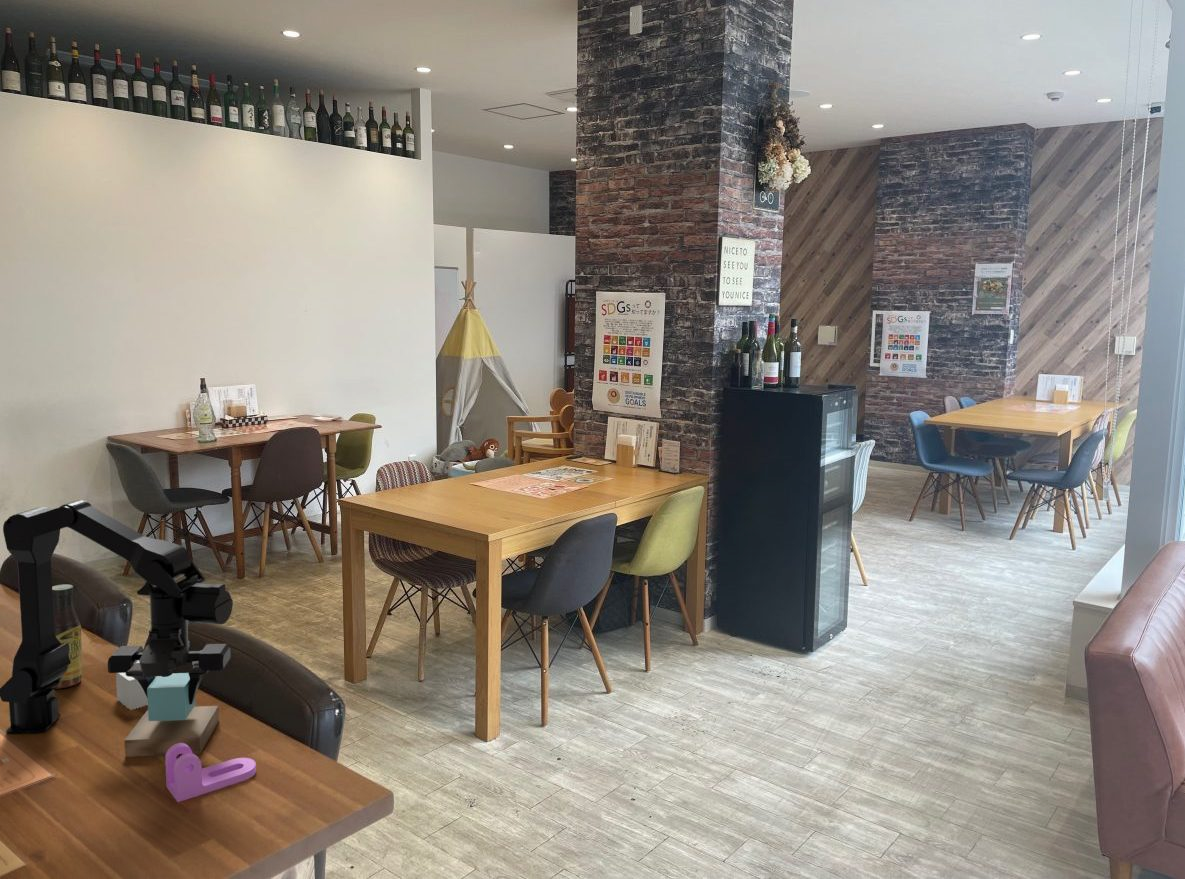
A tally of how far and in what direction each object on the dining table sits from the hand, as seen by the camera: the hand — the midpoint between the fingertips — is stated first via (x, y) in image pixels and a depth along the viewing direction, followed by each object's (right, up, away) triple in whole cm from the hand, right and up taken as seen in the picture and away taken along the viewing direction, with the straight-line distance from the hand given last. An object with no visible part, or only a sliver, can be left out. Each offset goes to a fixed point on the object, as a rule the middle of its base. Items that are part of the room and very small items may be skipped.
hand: (172, 704), depth 156 cm
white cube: (-13, -4, +15) cm, 20 cm away
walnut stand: (0, -6, +1) cm, 6 cm away
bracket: (+13, -9, -12) cm, 20 cm away
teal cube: (0, -2, 0) cm, 2 cm away
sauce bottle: (-31, -2, +21) cm, 38 cm away
